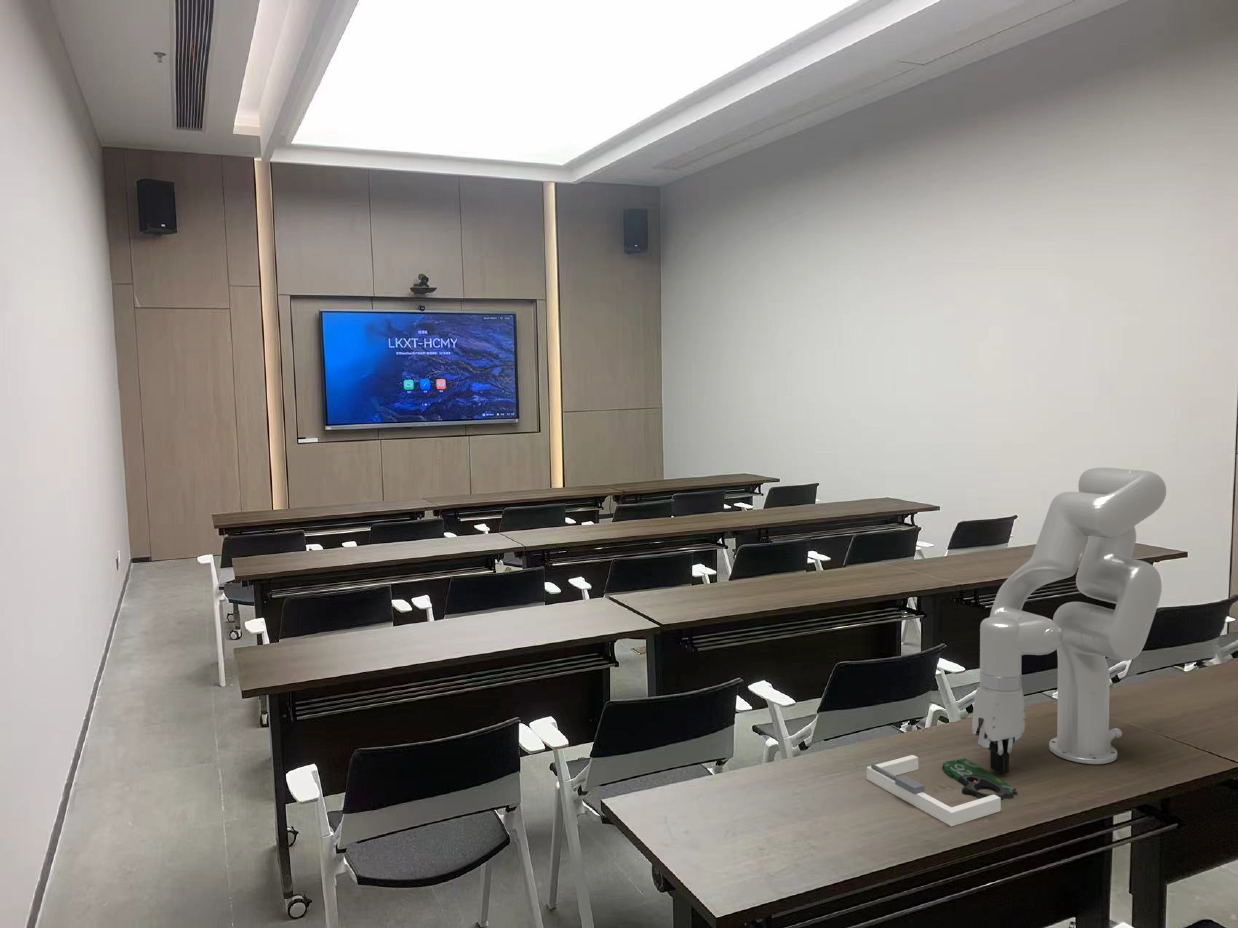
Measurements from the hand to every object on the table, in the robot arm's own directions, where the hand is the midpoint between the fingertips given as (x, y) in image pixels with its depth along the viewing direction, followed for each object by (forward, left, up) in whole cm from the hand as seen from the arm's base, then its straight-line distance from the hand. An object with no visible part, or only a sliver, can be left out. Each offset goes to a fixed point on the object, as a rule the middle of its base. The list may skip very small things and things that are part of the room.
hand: (999, 770), depth 177 cm
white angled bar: (+18, 0, -1) cm, 18 cm away
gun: (+7, 0, -1) cm, 7 cm away
